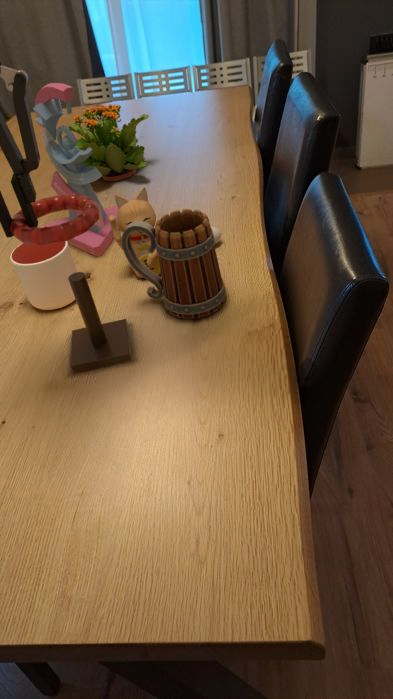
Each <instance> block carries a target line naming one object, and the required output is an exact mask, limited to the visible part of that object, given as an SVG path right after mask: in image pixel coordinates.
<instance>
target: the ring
mask: <svg viewBox="0 0 393 699" xmlns="http://www.w3.org/2000/svg"><path fill="white" fill-rule="evenodd" d="M31 204H32V207H33V209H34V212H35V215H36V217H37V220H39V219H40V218H43V217H45V216H47V215H50V214H53V213H58V212H63V211H69V210H79V211H82V213H81V214H80V215H78V216H77V217H76V218H74V219H72V220H69V221H67V222H65V223H63V224H60V225H55V226H50V227H45V226H44V227H29V226H28V225H27V222H26V220H25V217H24V215H23V212H22V210H21V209H20V210H18V212H15V214H14V215H13V217H11V218H12V222H11V226H10V232H11V234H12V235H13V237H14V238H16V239H17V240H19V242H22V243H25V244H34V245H49V244H54V243H59V242H64V241H68V240H70V239H72V238H75V237H77V236H79V235H81V234H83V233H85V232H87V231H88V230H89V229H90V228H91V227H92V226H93V225H94V224H95V223H96V222H97V221H98V219H99V205H98V203H97V202H96V201H95V200H93V199H91V198H89V197H87V196H85V195H77V194H62V195H58V194H56V195H52V196H47V197H44V198H41V199H38V200H36V201H35V202H33V203H31Z"/></svg>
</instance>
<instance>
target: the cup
mask: <svg viewBox="0 0 393 699" xmlns="http://www.w3.org/2000/svg"><path fill="white" fill-rule="evenodd" d="M9 260H10V263H11V264H12V267H13V269H14V271H15V273H16V276H17V278H18V280H19V282H20V284H21V287H22V289H23V291H24V293H25V297H27V300H28V302H29V303H30V305H32V307H34V308H36V309H38V310H43V311H44V310H45V311H50V310H51V311H52V310H57V309H61V308H64V307H67V306H68V305H69V304H71V303H73V302H74V301H76V299H75V296H74V294H73V291H72V288H71V286H70V283H69V280H68V277H69V276H70V275H71V274H73V273H76V272H79V271H78V269H77V268H78V267H77V265H76V262H75V259H74V256H73V253H72V251H71V248H70V244H68V242H67V241H64V242H59V243H54V244H49V245H34V244H25V243H23V242H22V243H21V244H19V245H17V246H16V247H15V248H14V249H13V251H12V252H11V253H10V255H9Z"/></svg>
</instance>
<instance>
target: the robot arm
mask: <svg viewBox="0 0 393 699" xmlns="http://www.w3.org/2000/svg"><path fill="white" fill-rule="evenodd" d="M0 79H2V80H3V81H4V83H5V88H6V90H7V91H8V92H10V93H12V102H13V107H14V111H15V116H16V121H17V124H18V130H19V134H20V137H21V142H22V146H23V147H22V148H23V151H24V155H25V158H24V156H23V154H22V152H21V150H20V148H19V146H18V144H17V142H16V140H15V138H14V136H13V134H12V132H11V130H10V128H9V126H8V124H7V122H6V120H5V117H4V116H3V114H2V112H1V110H0V150H1V151H2V153H3V155H4V156H5V159H6V161H7V163H8V165H9V166H10V169H11V171H12V176H11V180H10V184H11V187H12V190H13V192H14V194H15V197H16V199H17V202H18V204H19V207H20V210H22V212H23V215H24V217H25V220H26V222H27V225H28V226H29V227H37V228H39V227H38V226H39V219H37V217H36V215H35V212H34V209H33V207H32V204H31V203H33V202H36V201H37V192H36V189H35V185H34V184H33V181H32V178H31V175H30V173H31V172H33V171H36V170H38V169H39V166H40V162H41V156H40V150H39V146H38V140H37V137H36V132H35V127H34V122H33V118H32V113H31V109H30V104H29V99H28V95H27V90H28V83H29V73H28V71H27V70H26V69H24V68H19V69H15V68H12V67H8V66H5V65H2V63H1V62H0ZM12 218H13V217H12V215H11V213H10V210H9V207H8V206H7V203H6V201H5V198H4V196H3V193H2V190H0V226H1V228H2V230H3V232H4V233H5V237H6V238H13V237H14V236H13V235H12V234H11V232H10V226H11V222H12Z"/></svg>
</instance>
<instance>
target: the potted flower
mask: <svg viewBox="0 0 393 699" xmlns="http://www.w3.org/2000/svg"><path fill="white" fill-rule="evenodd" d="M121 109H122V105H120V104H115V103H114V104H112V103H109V104H107V105H104V104H100V105H99V106H97V107H96V106H95V105H93V106H92V107H90V108H88V107H85V109H83V110H82V117H81V115H78V114H75V116H73V118H72V120H74V123H73V125H70V124H69V125H66V126H67V127H68V128H69V129H70V130H71V131H72V132H73V133H77V134H78V135H80V136H81V137H80V138H76V146H75V148H78V149H80V150H83V151H85V150H87V149H88V148H89V147H90V148H91V149H93V153H92V154H91V155H90V156H89V157H88V158H87V159H86V160H85V161H84V162H82V164H83V165H86V166H89V167H96V168H97V169H98V171H99V172H100V174H101V175H102V176H101V177H100V178H102V179H103V180H104V181H106V182H118V181H122V180H126V179H128V178H131V177H132V176H134V175H135V174H136V172H137V170H139V169H141V168H142V169H143V168H144V167H147V164H148V162H147V161H145V160H143V159H144V156H145V146H143V145H139V144H137V143H138V142H139V139H138V138H137V136H136V134H137V126H138V125H139V124H140V123H141V122H142V121H145V120H147V119H148V118H149V117H150V115H149V114H146V113H144V112H143V114H141V115H140V116H139V117H138V118H137V119H136V118H135V117H132V118H131V119H130V121H129V122H128V124H126V123H124V124H123V125H122V127H121V129H119V126H118V123H120V122H121V121H122V119H121V114H120V113H121ZM84 117H85V118H86V119H85V120H84ZM119 118H120V119H119ZM83 123H84V124H85V125H84V127H83V126H82V125H81V124H83Z"/></svg>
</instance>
